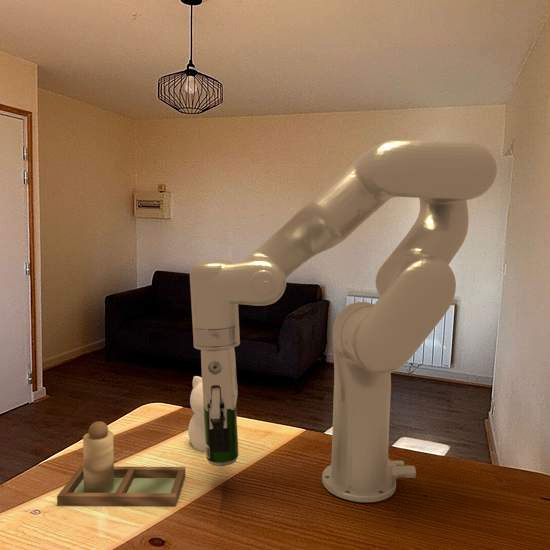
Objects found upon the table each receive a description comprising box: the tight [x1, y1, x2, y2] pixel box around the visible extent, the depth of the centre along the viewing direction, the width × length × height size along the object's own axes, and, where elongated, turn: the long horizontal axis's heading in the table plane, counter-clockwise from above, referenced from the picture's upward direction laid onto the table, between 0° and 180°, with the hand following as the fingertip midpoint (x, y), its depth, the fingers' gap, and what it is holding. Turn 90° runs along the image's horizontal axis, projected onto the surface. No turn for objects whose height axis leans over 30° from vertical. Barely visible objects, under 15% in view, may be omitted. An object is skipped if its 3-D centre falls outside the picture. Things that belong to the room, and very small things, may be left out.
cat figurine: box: [187, 375, 206, 452], centre depth 99 cm, size 9×12×15 cm
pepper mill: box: [82, 421, 115, 493], centre depth 79 cm, size 5×5×11 cm
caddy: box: [56, 465, 186, 508], centre depth 80 cm, size 18×10×2 cm, turn 91°
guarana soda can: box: [203, 400, 240, 467], centre depth 82 cm, size 5×5×12 cm
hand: (221, 441), depth 82 cm, fingers closed on guarana soda can, 5 cm apart
